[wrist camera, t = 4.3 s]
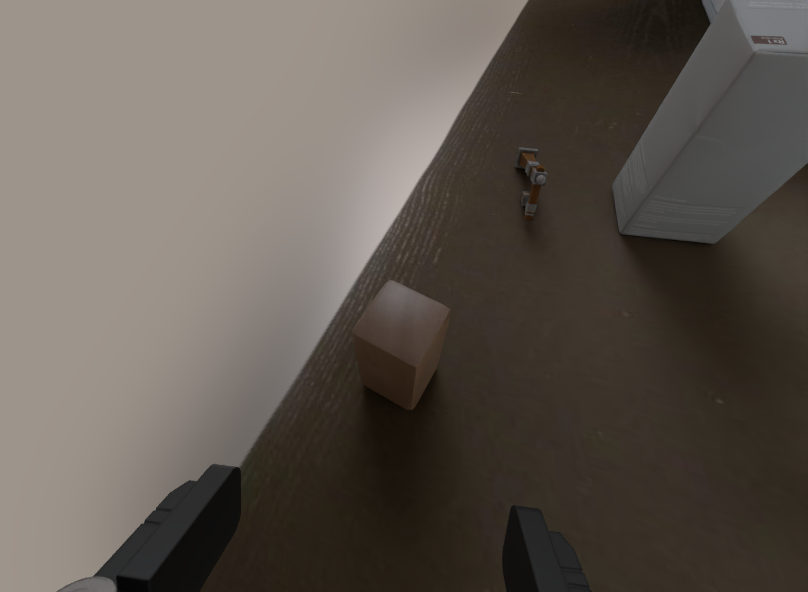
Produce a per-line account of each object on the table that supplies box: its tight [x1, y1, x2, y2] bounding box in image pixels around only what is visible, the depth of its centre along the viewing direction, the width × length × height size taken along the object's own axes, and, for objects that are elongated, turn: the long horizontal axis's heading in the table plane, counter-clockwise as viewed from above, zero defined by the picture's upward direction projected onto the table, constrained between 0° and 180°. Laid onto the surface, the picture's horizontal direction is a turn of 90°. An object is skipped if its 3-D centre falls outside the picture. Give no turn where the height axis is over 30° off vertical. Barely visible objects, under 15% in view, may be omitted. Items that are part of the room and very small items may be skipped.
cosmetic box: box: [612, 0, 808, 244], centre depth 28 cm, size 8×7×16 cm
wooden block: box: [351, 280, 451, 410], centre depth 23 cm, size 4×4×8 cm
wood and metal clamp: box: [514, 148, 547, 220], centre depth 34 cm, size 2×8×4 cm, turn 172°
